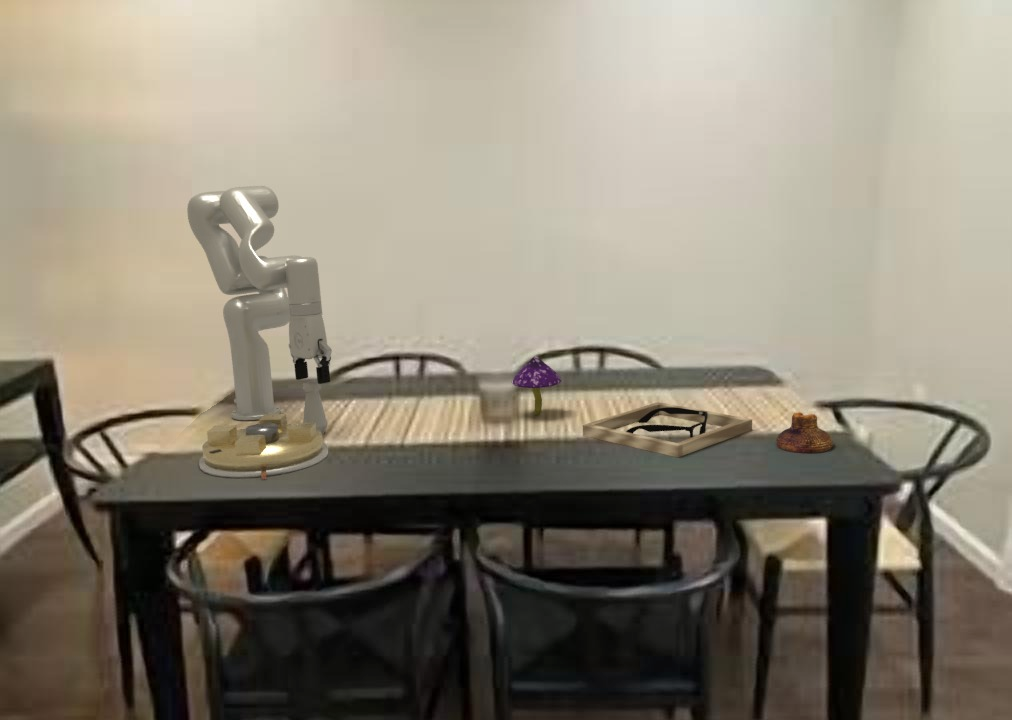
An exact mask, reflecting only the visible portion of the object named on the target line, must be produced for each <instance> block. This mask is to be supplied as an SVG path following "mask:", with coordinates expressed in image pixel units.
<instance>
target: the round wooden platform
mask: <svg viewBox="0 0 1012 720" xmlns="http://www.w3.org/2000/svg"><path fill="white" fill-rule="evenodd" d="M237 427H238V426H237V425H235V424H234V425H232V424H231V425H214V426H212V427H211V428H210V429H209V430H208V431H206V436H207V440H206V441H205V442H204V443H203V444H202V456H203V458H204V463H205V464H206V465H207V466H209V467H212V468H215V469H220V470H228V471H257V470H267V469H274V468H280V467H285V466H290V465H294V464H297V463H301V462H304V461H306V460H309V459H311V458H313V457H315V456H317V455H318V454H320V453H321V452H322V450H323V443H324V441H323V440H324V439H323V434H322V433H321V432H320V431H319V430H317V429H316V423H303V422H294V423H292V424H288V422H287V414H286V413H279V414H266V415H264V416H263V417H262V418H261V419H259V420H258V423H257V424H256V423H255V424H251V425H249V426H247V427H245V428H241V429H237Z"/></svg>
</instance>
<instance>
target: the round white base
mask: <svg viewBox="0 0 1012 720" xmlns="http://www.w3.org/2000/svg"><path fill="white" fill-rule="evenodd" d="M328 455H329V447H328V444H326V443H325V442H323V450H322V452H321V453H320V454H318V455H317V456H315V457H313V458H311V459H309V460H306V461H304V462H301V463H297V464H294V465H290V466H285V467H280V468H274V469H267V470H257V471H228V470H220V469H215V468H212V467H209V466H207V465H206V464H205V463H204V458H203V455H202V456H201V457H200V458H199V461H198V462H199V463H198V464H199V469H200V471H202V472H203V473H205V474H207V475H209V476H214V477H219V478H231V479H252V478H253V479H255V478H261V481H262V480H267V477H273V476H279V475H286V474H289V473H293V472H297V471H300V470H304V469H306V468H309V467H312V466H315V465H317V464H319V463H321V462H323V460H325V459H326V458H327V457H328Z"/></svg>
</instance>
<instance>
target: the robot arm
mask: <svg viewBox="0 0 1012 720" xmlns="http://www.w3.org/2000/svg"><path fill="white" fill-rule="evenodd" d="M279 207H280V206H279V200H278V197H277V195H276V193H275V192H274V191H273V190H272V189H271V188H270V187H268V186H265V185H254V186H236V187H231V188H229V189H227V190H218V191H206V192H201V193H198V194H196V195H194V196H192V197H191V198H190V199H189V201H188V204H187V220H188V223H189V226H190V229H191V231H192V234H193V235H194V237H195V238H196V240H197V241H198V243H199V244H200V246H201V248H202V249H203V251H204V252H205V256H206V258H207V261H208V263H209V267H210V269H211V272H212V274H213V277H214V279H215V281H216V285H217V286H218V288H219V290H220V292H222V294H224V295H227V296H235V295H236V296H235V297H232V298H230V299H229V300H227V302H226V303H225V304H224V306H223V309H222V313H223V314H222V315H223V320H224V323H225V328H226V330H227V335H228V339H229V344H230V345H229V346H230V354H231V366H232V373H233V385H234V392H235V393H234V394H235V398H234V400H233V403H234V404H235V405H236V409H234V410H233V411H232V412H231V414H230V416H231V418H232V419H234V420H238V421H259V419H261V418H262V417H263V416H264V415H266V414H281V412H282V410H281V407H280V406H277V405H275V401H274V400H275V399H274V393H273V392H274V389H273V381H272V379H273V378H272V370H271V368H272V367H271V360H270V359H271V358H270V349H269V347H268V344H267V342H266V340H265V339H264V338H263V337H262V336H261V334H260V333H259V332H260V331H261V332H262V331H264V330H269V329H271V330H272V329H277V328H281V327H285V326H286V325H288V339H289V342H288V348H289V351H290V356H291V357H292V363H293V364H294V374H295V379H296V380H297V381H299V380H303V379H308V378H309V370H308V362H307V361H306V360H312V359H313V360H314V362H315V364H316V365H317V366H316V367H315V371H316V380H317V381H318V384H321V385H323V384H327V383H330V382H331V373H330V366H331V360H332V352H333V351H332V348H331V347H330V346H329V345H328V341H327V340H328V339H327V333H326V327H325V322H324V318H323V306H322V295H321V285H320V275H319V267H318V262H317V259H316V258H314V257H311V256H300V255H285V256H274V257H267V256H264V255H259V254H258V253H257V252H256V251H258V250H260V249H261V248H263V247H264V246H266V245H267V244H268V243H269V242H270V241H271V240H272V238H273V236H274V233H275V226H274V223H273V222H272V221H271V219H273V218H274V217H275V216H276V215H277V213H278V211H279ZM224 224H225V225H226V224H227V225H231V227H232V228H233V229H234V231H235V232H236V233H237V235H238V237H239V238H240V243H239V245H238V242H237V240H236V239H235V238H234V237H233V236H232V235H231V234H230V233H229V232H228V231H226V230H225V229H224V228H222V227H221V226H220V225H224ZM285 288H286V289H287V292H286V289H285ZM237 295H238V296H237Z"/></svg>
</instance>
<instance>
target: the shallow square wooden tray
mask: <svg viewBox="0 0 1012 720" xmlns="http://www.w3.org/2000/svg"><path fill="white" fill-rule="evenodd" d="M665 407H675V408H684V409H691V410H697V411H705V412H707V414H708V417H707V422H706V425H707V424H708V425H713V426H718V428H715V429H712V430H710V431H707V432H706V431H705V433H703V434H700V435H699V434H698V435H695V436H693V437H692V438H690V437H689V438H686V439H684V440H682V441H681V440H680V441H679V442H673V441H668V440H666V439H665V440H664V439H660V438H655V437H650V436H645V435H641V434H636V433H628V432H626V431H623V430H619V429H617V428H620V427H623V426H626V425H630V424H633V423H635V422H639V420H640V419H641V418H642V417H644V416H645V415H646V414H648V413H649V412H651V411H653V410H655V409H659V408H665ZM657 415H661V416H666V417H672V418H675V419H683V420H686V421H687V420H688V421H693V422H697V423H702V422H704V420H705V416H701V414H669V413H666V412H664V411H659V412H657V413H656V414H655V415H654V416H653V417H655V416H657ZM750 431H753V419H752V418H746V417H741V416H735V415H731V414H730V415H729V414H725V413H718V412H713V411H709V410H703V409H698V408H693V407H692V408H691V407H686V406H682V405H676V404H670V403H665V402H659V401H658V402H654V403H651V404H647V405H643V406H641V407H637V408H634V409H632V410H627V411H624V412H621V413H618V414H615V415H611V416H608V417H604V418H602V419H599V420H598V419H597V420H595V421H591V422H588V423H584V424H582V436H583V437H586V438H592V439H595V440H596V439H597V440H600V441H606V442H609V443H614V444H618V445H622V446H626V447H630V448H636V449H639V450H645V451H649V452H653V453H656V454H657V453H658V454H661V455H666V456H670V457H674V458H680V457H684V456H686V455H688V454H692V453H694V452H696V451H699V450H702V449H704V448H707V447H710V446H714V445H715V444H718V443H720V442H724V441H726V440H729V439H732V438H735V437H737V436H739V435H743V434H745V433H748V432H750Z"/></svg>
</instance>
